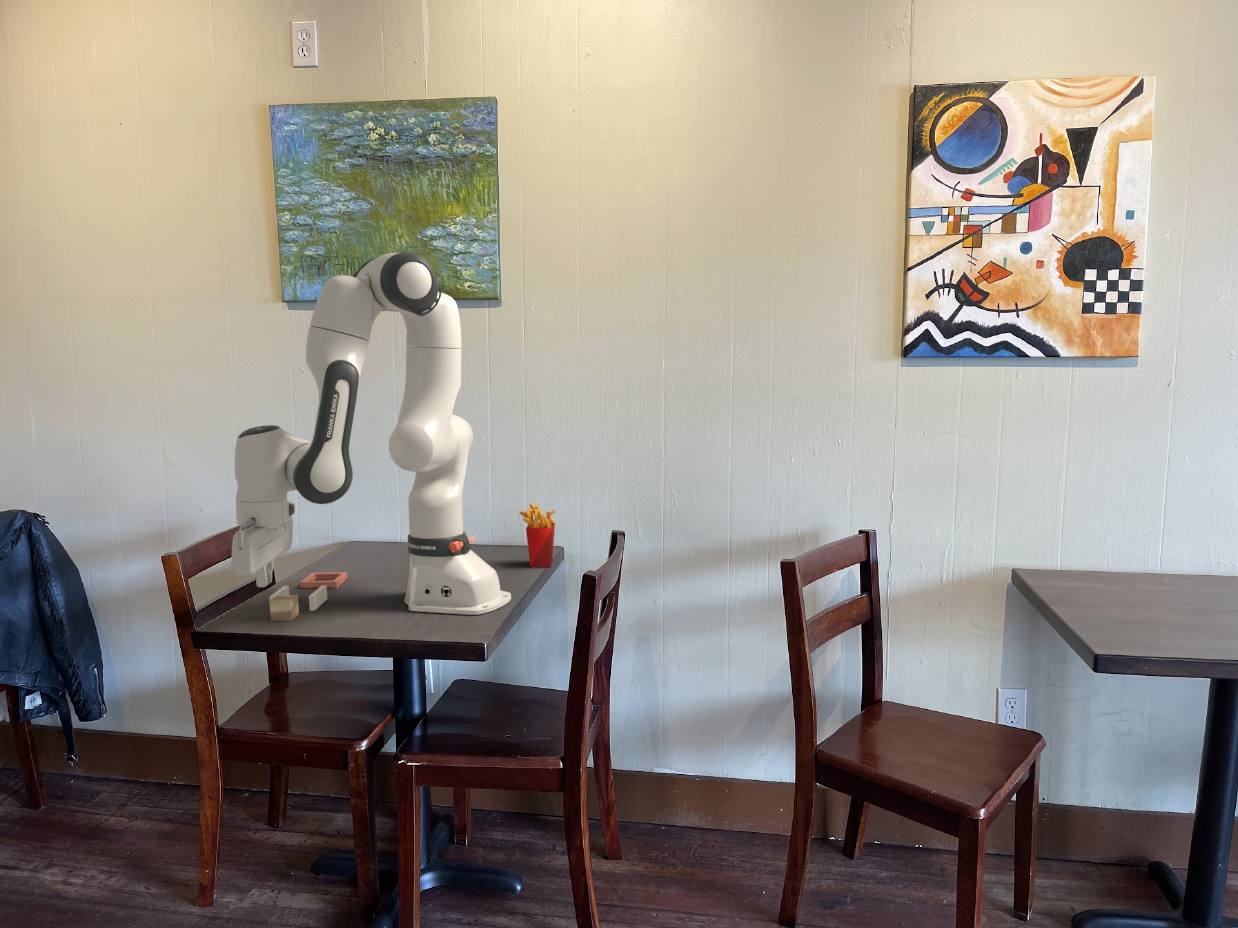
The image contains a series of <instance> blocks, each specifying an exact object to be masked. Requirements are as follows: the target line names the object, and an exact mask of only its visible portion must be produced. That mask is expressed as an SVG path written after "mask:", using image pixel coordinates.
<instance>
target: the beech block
mask: <svg viewBox="0 0 1238 928" xmlns="http://www.w3.org/2000/svg"><path fill="white" fill-rule="evenodd" d="M298 596H299V595H298V594H289V595H278V596H276V597H275V598H274V599H272V600H271V601H269V612H270V621H271V622H274V621H277V622H278V621H279V622H280V621H281V622H282V621H284V622H285V621H293V620H294V619H295V618H296V617H298V616H299V614H300V611H299V610H300V609H299V597H298ZM292 619H293V620H292Z"/></svg>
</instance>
